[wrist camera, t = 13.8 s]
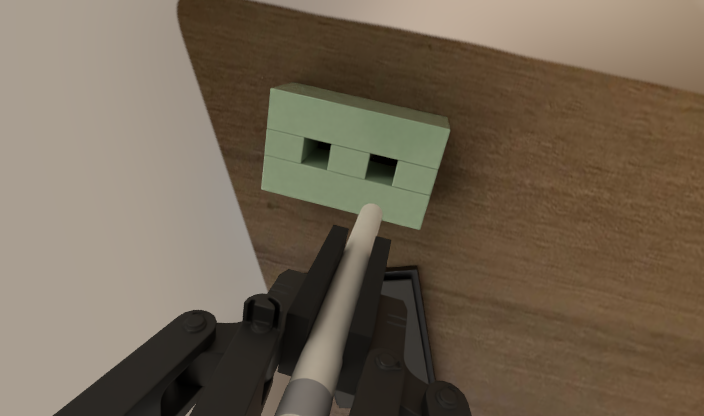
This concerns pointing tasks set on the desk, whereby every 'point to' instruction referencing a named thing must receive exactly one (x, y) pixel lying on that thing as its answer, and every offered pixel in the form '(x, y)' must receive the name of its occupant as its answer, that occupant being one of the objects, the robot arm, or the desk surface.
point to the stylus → (332, 326)
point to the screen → (412, 339)
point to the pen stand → (352, 152)
